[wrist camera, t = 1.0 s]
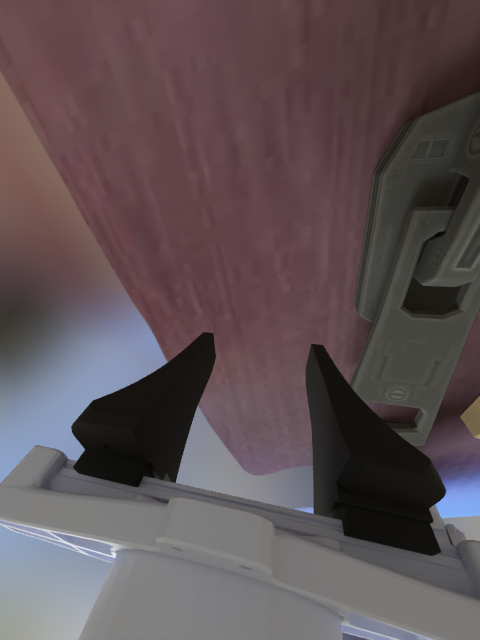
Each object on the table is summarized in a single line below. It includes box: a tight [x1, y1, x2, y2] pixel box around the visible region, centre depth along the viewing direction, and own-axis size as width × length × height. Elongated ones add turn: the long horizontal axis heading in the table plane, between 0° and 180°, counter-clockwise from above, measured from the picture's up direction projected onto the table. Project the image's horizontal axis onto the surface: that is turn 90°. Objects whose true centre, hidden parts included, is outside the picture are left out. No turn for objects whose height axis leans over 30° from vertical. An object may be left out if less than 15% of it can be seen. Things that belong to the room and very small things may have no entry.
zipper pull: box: [350, 91, 480, 446], centre depth 17 cm, size 9×7×25 cm
